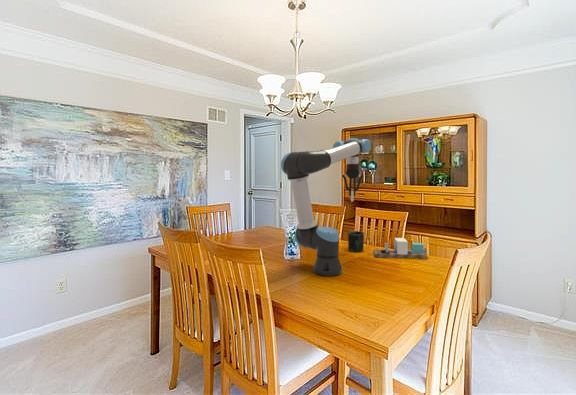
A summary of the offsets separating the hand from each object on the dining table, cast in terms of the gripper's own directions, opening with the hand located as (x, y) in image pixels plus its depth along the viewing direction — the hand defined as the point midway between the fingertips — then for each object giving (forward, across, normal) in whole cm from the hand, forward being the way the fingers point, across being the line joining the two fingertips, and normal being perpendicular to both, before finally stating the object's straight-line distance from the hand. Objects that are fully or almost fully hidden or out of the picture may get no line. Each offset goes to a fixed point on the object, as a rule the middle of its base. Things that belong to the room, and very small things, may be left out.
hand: (352, 201), depth 204 cm
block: (+31, +40, 0) cm, 50 cm away
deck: (+34, +29, -1) cm, 45 cm away
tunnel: (+32, +30, -1) cm, 44 cm away
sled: (+31, +33, 0) cm, 45 cm away
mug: (+34, +4, +12) cm, 37 cm away
